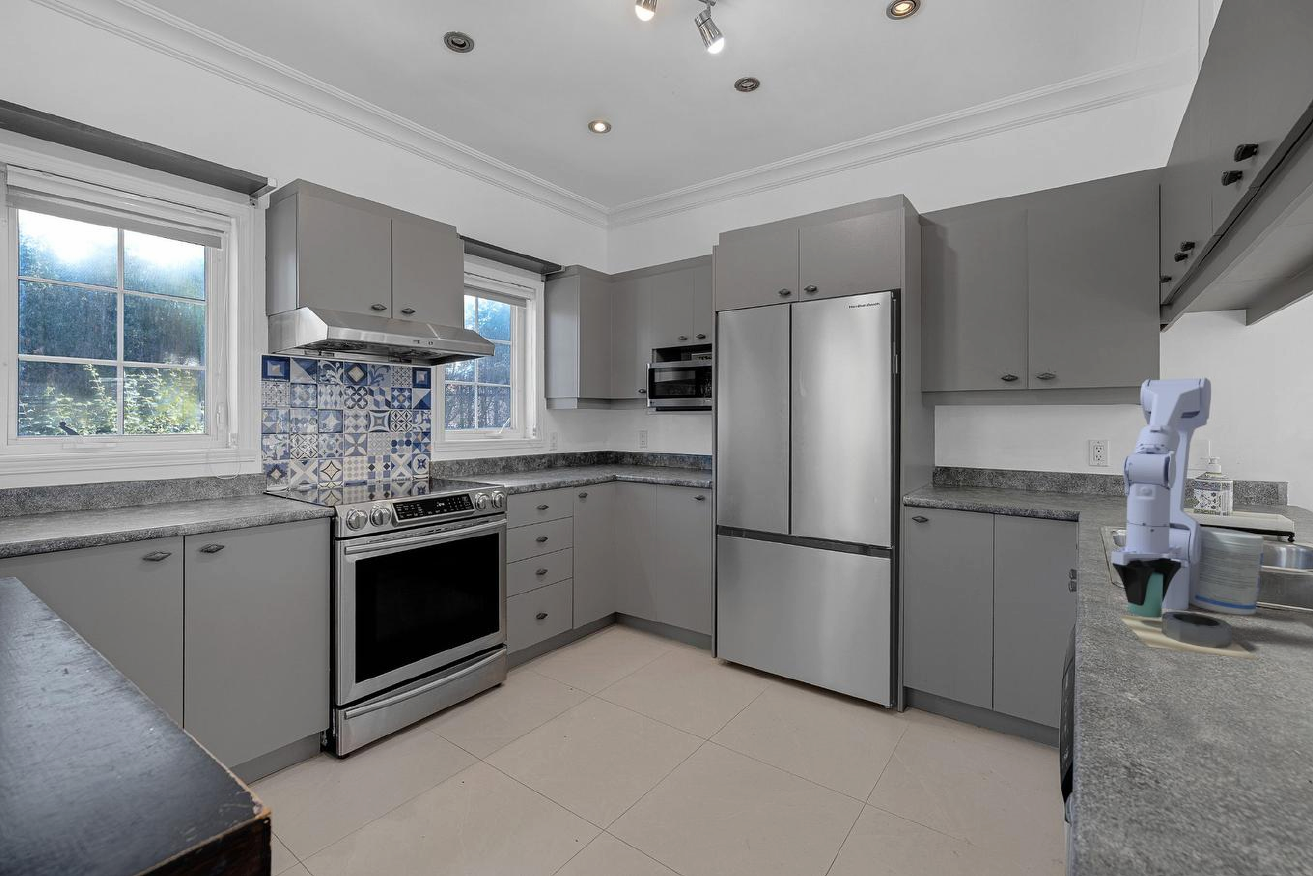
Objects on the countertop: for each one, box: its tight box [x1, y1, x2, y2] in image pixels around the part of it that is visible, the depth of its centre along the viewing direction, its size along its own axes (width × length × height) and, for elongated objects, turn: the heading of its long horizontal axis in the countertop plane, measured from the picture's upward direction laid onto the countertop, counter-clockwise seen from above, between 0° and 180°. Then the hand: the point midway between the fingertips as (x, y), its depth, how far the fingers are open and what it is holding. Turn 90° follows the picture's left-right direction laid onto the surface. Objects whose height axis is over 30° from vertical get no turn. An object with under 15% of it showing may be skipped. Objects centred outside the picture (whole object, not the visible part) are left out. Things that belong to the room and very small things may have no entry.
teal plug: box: [1128, 572, 1163, 619], centre depth 104 cm, size 4×4×7 cm
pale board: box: [1117, 614, 1260, 661], centre depth 98 cm, size 16×13×1 cm
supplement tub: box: [1189, 526, 1265, 616], centre depth 113 cm, size 10×10×15 cm
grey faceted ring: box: [1161, 610, 1232, 648], centre depth 97 cm, size 8×8×3 cm
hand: (1145, 602), depth 104 cm, fingers closed on teal plug, 4 cm apart
